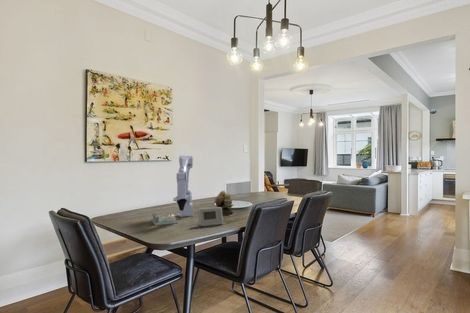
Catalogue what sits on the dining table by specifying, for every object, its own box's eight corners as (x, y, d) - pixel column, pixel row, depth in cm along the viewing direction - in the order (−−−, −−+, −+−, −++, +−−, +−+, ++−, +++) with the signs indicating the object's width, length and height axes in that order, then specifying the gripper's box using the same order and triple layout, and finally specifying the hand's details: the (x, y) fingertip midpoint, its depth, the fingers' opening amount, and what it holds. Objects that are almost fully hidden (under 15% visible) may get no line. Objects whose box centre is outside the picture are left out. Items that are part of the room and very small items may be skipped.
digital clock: (198, 227, 178) (198, 210, 177) (197, 223, 186) (197, 207, 186) (224, 225, 181) (224, 209, 181) (221, 222, 190) (222, 206, 190)
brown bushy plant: (237, 213, 218) (237, 190, 218) (226, 216, 210) (226, 192, 209) (220, 209, 230) (221, 188, 230) (209, 212, 222) (210, 190, 221)
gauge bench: (173, 219, 197) (173, 212, 197) (177, 223, 187) (177, 215, 187) (152, 221, 191) (152, 213, 191) (155, 225, 181) (155, 217, 181)
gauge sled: (173, 218, 193) (173, 212, 193) (174, 220, 189) (175, 213, 189) (165, 219, 191) (165, 213, 191) (166, 220, 187) (166, 214, 187)
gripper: (183, 188, 201) (183, 208, 202) (169, 190, 189) (169, 211, 189) (191, 189, 198) (191, 209, 198) (178, 191, 185) (178, 212, 186)
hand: (181, 210), depth 193 cm, fingers closed
